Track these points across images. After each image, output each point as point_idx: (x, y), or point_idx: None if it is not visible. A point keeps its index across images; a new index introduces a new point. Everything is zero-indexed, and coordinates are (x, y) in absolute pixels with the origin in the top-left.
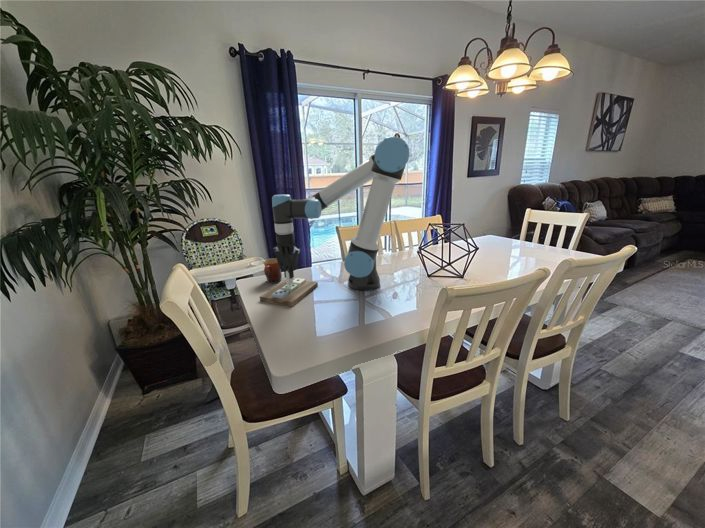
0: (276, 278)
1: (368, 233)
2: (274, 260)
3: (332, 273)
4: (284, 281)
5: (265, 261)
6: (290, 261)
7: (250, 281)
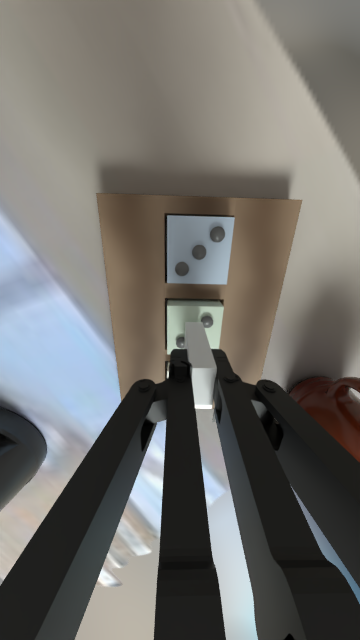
0: (302, 394)
1: None
2: None
3: (138, 476)
4: (255, 380)
5: None
6: (164, 471)
7: None
